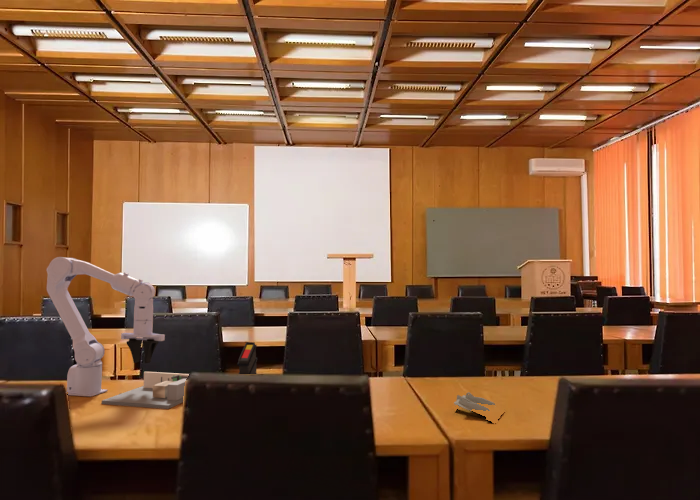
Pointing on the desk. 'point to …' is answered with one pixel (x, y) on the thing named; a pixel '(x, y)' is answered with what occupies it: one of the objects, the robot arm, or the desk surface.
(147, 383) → the gauge board
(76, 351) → the robot arm
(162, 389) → the block
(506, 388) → the desk surface
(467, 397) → the grey angular piece
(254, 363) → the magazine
